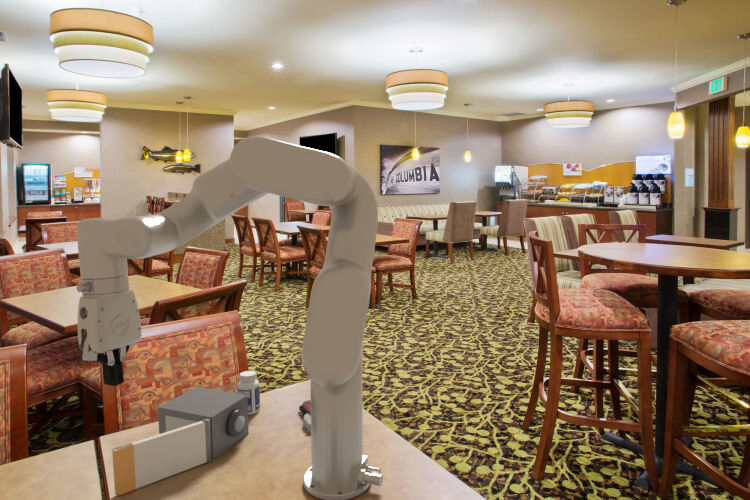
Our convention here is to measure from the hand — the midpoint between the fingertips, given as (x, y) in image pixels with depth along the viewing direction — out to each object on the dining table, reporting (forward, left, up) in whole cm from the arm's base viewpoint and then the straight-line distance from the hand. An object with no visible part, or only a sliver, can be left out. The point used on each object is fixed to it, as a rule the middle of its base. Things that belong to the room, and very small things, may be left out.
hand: (114, 383), depth 90 cm
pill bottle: (-5, -34, -19) cm, 39 cm away
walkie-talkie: (-26, -34, -20) cm, 47 cm away
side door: (-8, -4, -19) cm, 21 cm away
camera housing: (-5, -18, -19) cm, 27 cm away
